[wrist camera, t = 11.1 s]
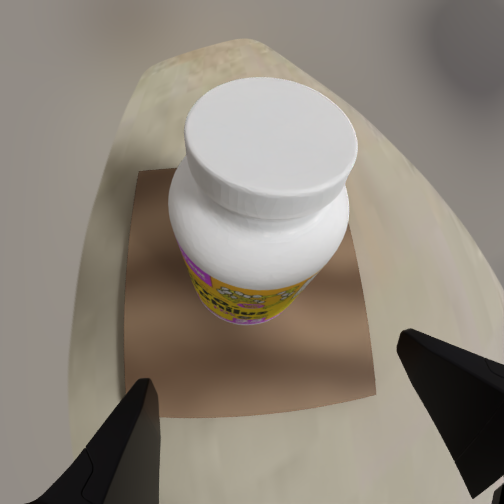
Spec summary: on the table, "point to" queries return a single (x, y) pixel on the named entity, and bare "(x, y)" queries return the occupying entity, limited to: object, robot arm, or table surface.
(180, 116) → the table surface
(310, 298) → the walnut board
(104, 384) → the table surface
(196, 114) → the supplement bottle
